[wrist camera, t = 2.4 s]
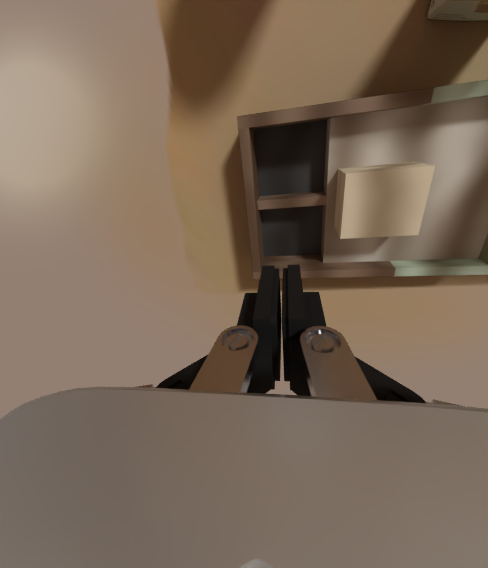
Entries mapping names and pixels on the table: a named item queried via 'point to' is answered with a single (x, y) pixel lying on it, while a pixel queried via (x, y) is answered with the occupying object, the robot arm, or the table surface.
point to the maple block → (382, 199)
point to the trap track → (358, 153)
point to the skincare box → (458, 10)
